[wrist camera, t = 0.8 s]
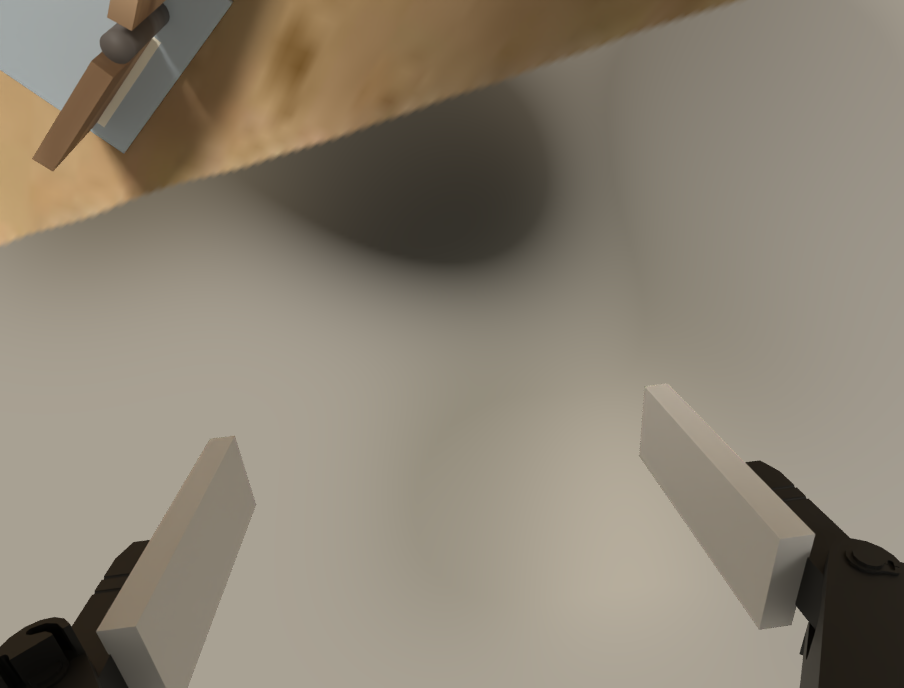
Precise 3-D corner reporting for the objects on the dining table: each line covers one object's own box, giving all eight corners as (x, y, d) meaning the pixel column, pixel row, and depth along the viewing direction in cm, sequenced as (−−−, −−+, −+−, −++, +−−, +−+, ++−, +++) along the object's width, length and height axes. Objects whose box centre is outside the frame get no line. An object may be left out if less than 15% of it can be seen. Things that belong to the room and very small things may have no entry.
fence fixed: (79, 106, 38) (28, 156, 33) (152, -10, 33) (106, 27, 28) (102, 122, 39) (56, 173, 34) (175, 11, 34) (135, 50, 29)
